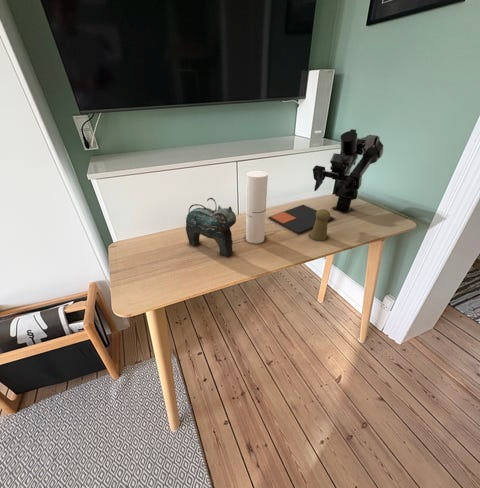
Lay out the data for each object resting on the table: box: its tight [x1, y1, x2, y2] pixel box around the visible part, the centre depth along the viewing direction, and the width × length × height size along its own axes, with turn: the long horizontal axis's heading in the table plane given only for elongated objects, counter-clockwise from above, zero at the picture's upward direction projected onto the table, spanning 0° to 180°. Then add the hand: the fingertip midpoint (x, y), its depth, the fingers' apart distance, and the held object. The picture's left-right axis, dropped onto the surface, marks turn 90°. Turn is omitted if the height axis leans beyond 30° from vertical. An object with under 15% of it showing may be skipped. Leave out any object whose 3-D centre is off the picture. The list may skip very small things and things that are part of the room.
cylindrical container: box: [245, 170, 269, 244], centre depth 93 cm, size 7×7×25 cm
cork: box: [310, 208, 331, 241], centre depth 98 cm, size 6×6×11 cm
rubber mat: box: [268, 204, 334, 235], centre depth 114 cm, size 22×18×1 cm
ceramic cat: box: [185, 197, 237, 258], centre depth 89 cm, size 20×6×20 cm, turn 59°
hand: (325, 193), depth 98 cm, fingers open, 9 cm apart
